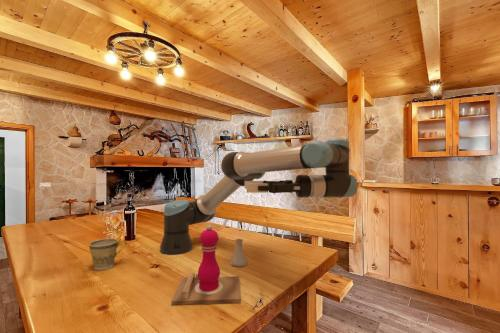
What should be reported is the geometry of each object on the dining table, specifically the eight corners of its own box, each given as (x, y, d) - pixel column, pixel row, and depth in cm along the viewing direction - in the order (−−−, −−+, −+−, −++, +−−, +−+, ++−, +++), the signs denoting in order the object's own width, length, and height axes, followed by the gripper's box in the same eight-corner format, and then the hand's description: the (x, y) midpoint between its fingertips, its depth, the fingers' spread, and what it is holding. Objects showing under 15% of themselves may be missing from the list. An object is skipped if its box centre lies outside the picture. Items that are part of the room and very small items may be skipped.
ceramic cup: (87, 274, 90) (87, 247, 90) (90, 264, 99) (90, 240, 99) (126, 267, 96) (126, 242, 96) (126, 259, 105) (126, 236, 105)
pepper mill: (199, 281, 82) (199, 222, 82) (220, 281, 82) (220, 222, 82) (196, 292, 75) (196, 227, 75) (219, 292, 75) (219, 227, 75)
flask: (250, 261, 103) (250, 238, 103) (244, 268, 96) (244, 243, 96) (234, 259, 105) (234, 236, 106) (227, 266, 99) (227, 241, 99)
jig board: (171, 305, 70) (171, 294, 70) (182, 281, 85) (182, 272, 85) (240, 303, 72) (240, 292, 72) (239, 279, 87) (239, 270, 87)
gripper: (322, 202, 68) (247, 203, 67) (298, 193, 93) (243, 193, 92) (322, 176, 68) (247, 176, 67) (298, 173, 93) (243, 173, 92)
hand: (245, 186), depth 79 cm, fingers open, 13 cm apart
